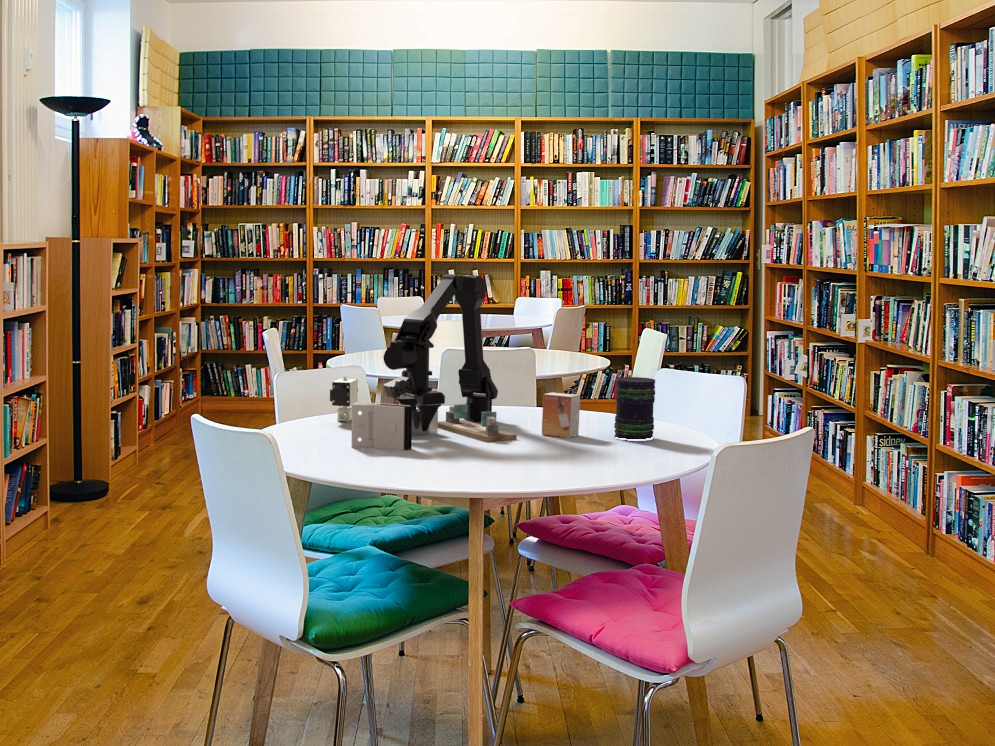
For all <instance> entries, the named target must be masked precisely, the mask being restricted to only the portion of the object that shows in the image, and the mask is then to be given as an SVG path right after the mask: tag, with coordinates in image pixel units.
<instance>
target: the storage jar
mask: <svg viewBox="0 0 995 746" xmlns="http://www.w3.org/2000/svg"><path fill="white" fill-rule="evenodd" d="M655 389H656V379H654V378H649V377H640V376H639V377H637V376H636V377H635V376H630V377H629V376H625V377H624V376H622V377H621V376H620V377H617V378H616V385H615V402H616V405H615V406H616V407H615V408H616V409H615V410H616V412H615V413H616V414H615V416H614V425H613V426H614V427H613V428H614V437H618V438H626V439H646V438H651V437H653V438H654V430H655V424H654V423H655V419H654V403H655V400H656V399H655V398H656V396H655V395H656V390H655Z"/></svg>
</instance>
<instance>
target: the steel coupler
mask: <svg viewBox="0 0 995 746" xmlns="http://www.w3.org/2000/svg"><path fill="white" fill-rule="evenodd" d="M438 422H439V409H438V410H437V412H436V413H435V415H434V417H433V419H432V421H431V423H430V425H429V427H428V429H427V431H422V426H421V416H420V410H419V409H418V408H416V409H412V437H414V436H426V435H428V436H429V435H436V434H437V435H438V433H439V432H438V431H439V430H438V429H439V428H438Z"/></svg>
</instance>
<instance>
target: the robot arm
mask: <svg viewBox="0 0 995 746" xmlns="http://www.w3.org/2000/svg"><path fill="white" fill-rule="evenodd" d="M486 290H487V282H486V280H485V279H484V278H483V277H482V276H481V275H472V274H471V275H469V274H468V275H467V274H466V275H465V274H457V273H452V274H451V273H445V274H443V275H441V278H440V281H439V283H438V284H437V285H436V287H435V288H434V289H433V291H431V293H430V295H429V296H428V297H427V298H426V300H425V302H424V303H423V304H422V305H421V306H420V307H419V308H417V309H415V310H413V311H411V312H410V313H409V314H408V315H406V316H405V317H404V319H403V321H402V323H401V326H400V328H399V330H398V332H397V335H396V337H395V339H394V341H390V346H389V347H388V348H386V350H385V351H384V353H383V362H384V364H385V366H386V368H387V369H389V370H393V371H395V370H402V371H401V376H400V377H397V378H395V379H393V380H389V381H388V382H386V383H383V388H384V391H385V394H386V396H387V397H388V398H391V399H393V400H394V401H395V402H397V403H398V405H409V406H412V409H419V410H420V416H421V426H422V431H427V429H428V427H429V425H430V423H431V421H432V419H433V417H434V415H435V413H436V412H437V410H438V411H439V408H440V407H442V405H445V404H446V395H445V394H444V393H443V392H442V391H437V390H433V388H432V387H431V386H430V385H429V384H430V376H433V371H432V370H430V349H432V348H435V344H434V343H433V342H431V338H432V337H433V336H434V334H435V333H436V332H435V331H436V330H437V328H438V319H439V317H440V315H441V314H442V313H443V311H445V308H446V307H447V306H448V304H449V303H450V301H451V300H452V299H453V298H454V299H455V301H456V303H457V304H458V306H459V308H460V309H461V318H462V332H463V334H462V335H463V346H464V363H463V365H462V367H461V368H459V369H458V384H459V389H460V393H461V397H462V398H466V403H465V404H468V405H467V418H463V419H462V420H466V421H470V422H473V423H478V422H480V423H481V417H482V412H493V410H492V409H493V400H496V399H497V398H498V393H499V390H498V388H497V386H496V384H495V383H494V382H493V379H492V374H491V370H490V368H489V366H488V365H487V363H486V361H485V360H484V348H483V347H484V346H483V333H482V332H483V331H482V329H483V328H482V315H481V307H482V306H483V303H484V301H485V299H486ZM404 369H405V370H404Z"/></svg>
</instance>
